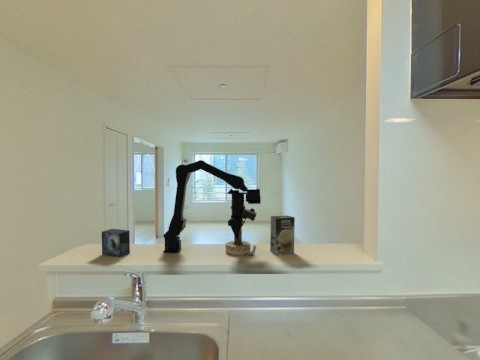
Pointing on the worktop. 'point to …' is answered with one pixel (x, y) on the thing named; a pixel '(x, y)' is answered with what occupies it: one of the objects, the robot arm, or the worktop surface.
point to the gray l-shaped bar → (252, 252)
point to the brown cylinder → (238, 241)
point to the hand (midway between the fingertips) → (237, 237)
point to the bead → (238, 248)
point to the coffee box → (282, 234)
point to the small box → (115, 242)
